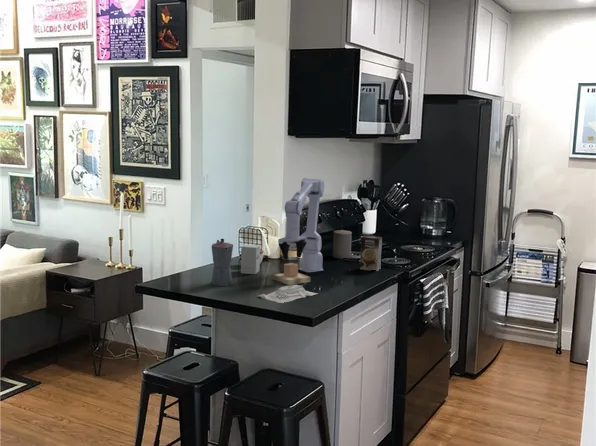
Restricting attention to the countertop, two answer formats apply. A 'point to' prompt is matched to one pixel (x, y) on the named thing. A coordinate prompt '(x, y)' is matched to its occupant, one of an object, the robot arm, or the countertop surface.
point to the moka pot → (222, 263)
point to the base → (291, 279)
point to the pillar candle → (342, 244)
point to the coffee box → (370, 253)
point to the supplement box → (250, 259)
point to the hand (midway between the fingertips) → (292, 258)
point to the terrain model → (287, 294)
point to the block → (290, 270)
